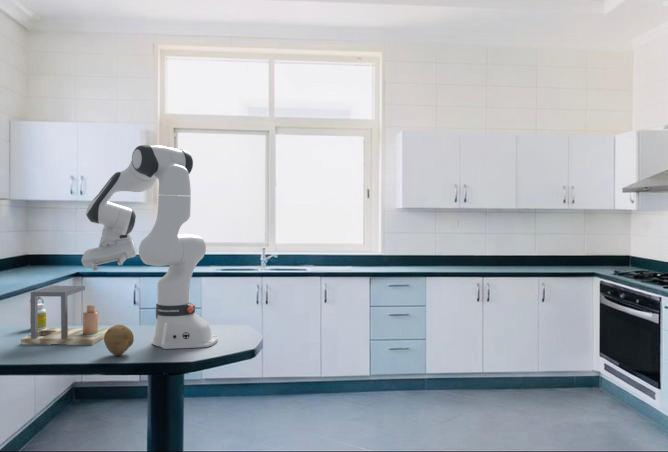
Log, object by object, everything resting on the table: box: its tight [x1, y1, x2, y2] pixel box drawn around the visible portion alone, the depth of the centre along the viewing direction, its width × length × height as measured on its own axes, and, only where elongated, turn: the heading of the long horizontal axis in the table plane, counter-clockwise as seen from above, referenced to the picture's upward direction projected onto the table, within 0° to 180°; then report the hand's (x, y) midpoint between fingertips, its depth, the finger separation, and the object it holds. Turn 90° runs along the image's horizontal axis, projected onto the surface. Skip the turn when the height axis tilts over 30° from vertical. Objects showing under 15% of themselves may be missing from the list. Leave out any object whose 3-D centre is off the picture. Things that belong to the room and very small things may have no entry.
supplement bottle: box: [29, 302, 47, 331], centre depth 204 cm, size 5×5×10 cm
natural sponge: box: [103, 324, 135, 357], centre depth 169 cm, size 9×9×10 cm
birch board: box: [20, 327, 109, 346], centre depth 188 cm, size 25×16×2 cm, turn 91°
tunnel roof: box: [30, 285, 86, 339], centre depth 188 cm, size 12×15×16 cm
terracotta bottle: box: [82, 304, 99, 335], centre depth 188 cm, size 5×5×10 cm
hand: (107, 266), depth 197 cm, fingers open, 8 cm apart
